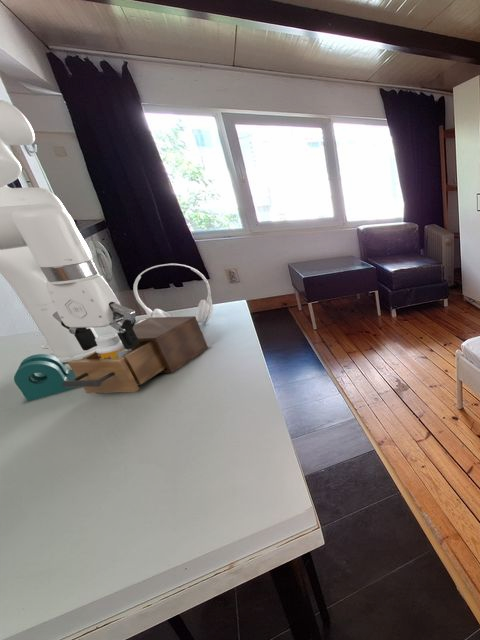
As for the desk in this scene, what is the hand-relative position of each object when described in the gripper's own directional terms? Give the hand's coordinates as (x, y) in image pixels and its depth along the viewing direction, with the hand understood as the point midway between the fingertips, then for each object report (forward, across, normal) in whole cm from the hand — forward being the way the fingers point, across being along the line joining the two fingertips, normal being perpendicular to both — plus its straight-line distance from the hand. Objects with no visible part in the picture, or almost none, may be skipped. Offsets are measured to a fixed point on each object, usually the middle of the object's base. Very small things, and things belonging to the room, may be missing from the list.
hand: (112, 347), depth 82 cm
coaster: (+10, -28, +39) cm, 49 cm away
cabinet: (+10, 0, +11) cm, 15 cm away
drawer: (+9, 0, -1) cm, 9 cm away
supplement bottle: (+8, 0, 0) cm, 8 cm away
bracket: (+10, -14, +2) cm, 17 cm away
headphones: (+10, -11, +34) cm, 37 cm away
